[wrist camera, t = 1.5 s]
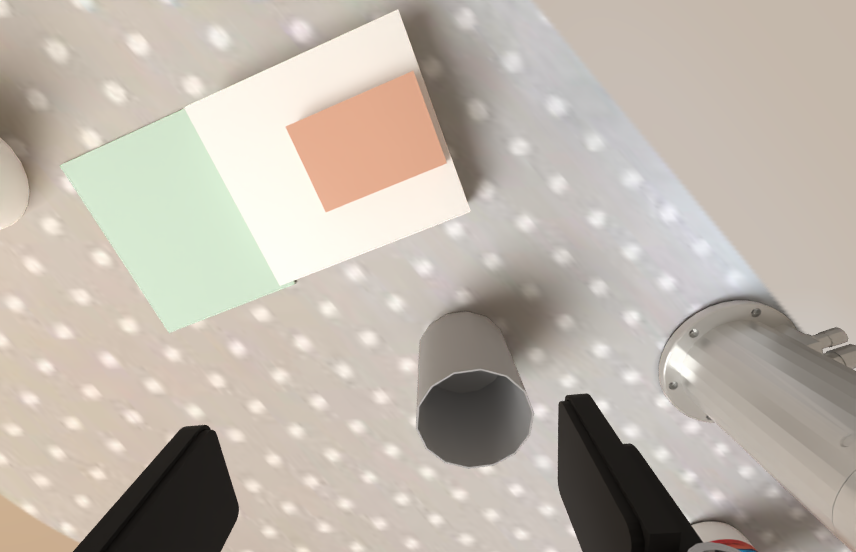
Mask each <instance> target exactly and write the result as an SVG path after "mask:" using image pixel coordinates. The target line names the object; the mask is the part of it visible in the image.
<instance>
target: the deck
mask: <svg viewBox="0 0 856 552" xmlns="http://www.w3.org/2000/svg"><path fill="white" fill-rule="evenodd" d="M411 71H414V74H415V76H416V79H417V82H418V85H419V87H420V90H421V93H422V96H423V99H424V101H425V104H426V107H427V110H428V112H429V115H430V118H431V121H432V123H433V126H434V129H435V132H436V134H437V137H438V140H439V143H440V145H441V148H442V151H443V154H444V156H445V159H446V162H447V163H446V164H444V165H442V166H439V167H437V168H434V169H432V170H429V171H427V172H424V173H422V174H419V175H417V176H414V177H412V178H409V179H407V180H405V181H402V182H400V183H397V184H395V185H392V186H390V187H387V188H385V189H382V190H380V191H377V192H375V193H373V194H370V195H368V196H365V197H363V198H360V199H358V200H355V201H353V202H350V203H348V204H345V205H343V206H340V207H338V208H336V209H333V210H331V211H328V212H325V210H324V208H323V206H322V203H321V201H320V199H319V197H318V195H317V193H316V191H315V189H314V186H313V184H312V182H311V180H310V178H309V176H308V174H307V172H306V169H305V167H304V165H303V163H302V161H301V159H300V157H299V155H298V153H297V150H296V148H295V146H294V144H293V142H292V140H291V138H290V136H289V133H288V131H287V129H286V126H288V125H290V124H292V123H295V122H297V121H299V120H302V119H304V118H306V117H308V116H311V115H313V114H315V113H318V112H320V111H322V110H324V109H327V108H329V107H331V106H334V105H336V104H338V103H340V102H343V101H345V100H347V99H350V98H352V97H354V96H356V95H359V94H361V93H363V92H366V91H368V90H370V89H372V88H375V87H377V86H379V85H382V84H384V83H386V82H388V81H391V80H393V79H395V78H398V77H400V76H402V75H405V74H407V73H409V72H411ZM184 109H185V110H186V112H187V114H188V116H189V118H190V120H191V122H192V123H193V125H194V127H195V129H196V131H197V133H198V135H199V136H200V138H201V140H202V142H203V144H204V146H205V148H206V150H207V151H208V153H209V155H210V157H211V159H212V161H213V163H214V164H215V166H216V168H217V170H218V172H219V174H220V176H221V177H222V179H223V181H224V183H225V185H226V187H227V189H228V190H229V192H230V194H231V196H232V198H233V200H234V202H235V203H236V205H237V207H238V209H239V211H240V213H241V215H242V217H243V218H244V220H245V222H246V224H247V226H248V228H249V230H250V231H251V233H252V235H253V237H254V239H255V241H256V243H257V244H258V246H259V248H260V250H261V252H262V254H263V256H264V257H265V259H266V261H267V263H268V265H269V267H270V269H271V270H272V272H273V274H274V276H275V278H276V280H277V282H278V284H279V285H280V286H281V285H284V284H286V283H289V282H291V281H294V280H297V279H299V278H302V277H304V276H307V275H309V274H312V273H315V272H317V271H320V270H322V269H325V268H327V267H330V266H333V265H335V264H338V263H340V262H343V261H345V260H348V259H351V258H353V257H356V256H358V255H361V254H363V253H366V252H369V251H371V250H374V249H376V248H379V247H381V246H384V245H387V244H389V243H392V242H394V241H397V240H399V239H402V238H405V237H407V236H410V235H412V234H415V233H417V232H420V231H423V230H425V229H428V228H430V227H433V226H435V225H438V224H441V223H443V222H446V221H448V220H451V219H453V218H456V217H459V216H461V215H464V214H466V213H469V212H471V211H470V208H469V205H468V203H467V200H466V197H465V194H464V191H463V189H462V186H461V183H460V180H459V177H458V175H457V172H456V169H455V166H454V163H453V161H452V158H451V155H450V152H449V150H448V147H447V144H446V141H445V138H444V136H443V133H442V130H441V127H440V124H439V122H438V119H437V116H436V113H435V110H434V108H433V105H432V102H431V99H430V96H429V94H428V91H427V88H426V85H425V83H424V80H423V77H422V74H421V71H420V69H419V66H418V63H417V60H416V57H415V55H414V52H413V49H412V46H411V43H410V41H409V38H408V35H407V32H406V30H405V27H404V24H403V21H402V18H401V16H400V13H399V10H395V11H393V12H391V13H389V14H387V15H385V16H382V17H380V18H378V19H376V20H374V21H371V22H369V23H367V24H365V25H363V26H360V27H358V28H356V29H354V30H352V31H350V32H347V33H345V34H343V35H341V36H339V37H336V38H334V39H332V40H330V41H328V42H325V43H323V44H321V45H319V46H317V47H315V48H312V49H310V50H308V51H306V52H304V53H301V54H299V55H297V56H295V57H293V58H290V59H288V60H286V61H284V62H282V63H280V64H277V65H275V66H273V67H271V68H269V69H266V70H264V71H262V72H260V73H258V74H255V75H253V76H251V77H249V78H247V79H245V80H242V81H240V82H238V83H236V84H234V85H231V86H229V87H227V88H225V89H223V90H220V91H218V92H216V93H214V94H212V95H210V96H207V97H205V98H203V99H201V100H199V101H196V102H194V103H192V104H190V105H188V106H185V107H184Z"/></svg>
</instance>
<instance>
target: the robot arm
mask: <svg viewBox="0 0 856 552" xmlns="http://www.w3.org/2000/svg"><path fill="white" fill-rule="evenodd" d="M847 341H848V337H847V334H846V333H845V332H844V331H843V330H842V329H840V328H832V329H829V330H826V331H823V332H820V333H818V334H816V335H813V336H811V335H808V334H804V333H802V332H800V331H798V330H797V329H796V327H795V326H794V324H793V322H792V321H791V320H790V319H789V318H788V317H787V316H786V315H784V314H783V313H781V312H779V311H778V310H776V309H774V308H772V307H769V306H767V305H765V304H762V303H759V302H754V301H749V300H735V301H729V302H723V303H719V304H716V305H713V306H710V307H708V308H706V309H704V310H702V311H700V312H698V313H696V314H695V315H693V316H692V317H691V318H689V319H688V320H687V321H685V322H684V323H683V324H682V325H681V326H680V327H679V328H678V329H677V330H676V331H675V332H674V334H673V335H672V336H671V338H670V339H669V341H668V342H667V344H666V346H665V348H664V350H663V352H662V355H661V359H660V363H659V381H660V386H661V388H662V390H663V392H664V395H665V396H666V397H667V399H668V400H669V401H670V402H671V403H672V404H673V405H674V406H675V407H676V408H677V409H678V410H679V411H680V412H682V413H683V414H685V415H686V416H688V417H690V418H693V419H696V420H698V421H703V422H709V423H716V424H717V425H718V426H719V427H720V428H721V429H723V430H724V431H725V432H726V433H727V434H728V435H729V436H730V437H731V438H732V439H733V440H734V441H735V442H736V443H737V444H738V445H739V446H741V447H742V448H743V449H744V450H745V451H746V452H747V453H748V454H749V455H750V456H751V457H752V458H753V459H754V460H755V461H756V462H757V463H759V464H760V465H761V466H762V467H763V468H764V469H765V470H766V471H767V472H768V473H769V474H770V475H771V476H772V477H773V478H774V479H775V480H777V481H778V482H779V483H780V484H781V485H782V486H783V487H784V488H785V489H786V490H787V491H788V492H789V493H790V494H791V495H792V496H793V497H795V498H796V499H797V500H798V501H799V502H800V503H801V504H802V505H803V506H804V507H805V508H806V509H807V510H808V511H809V512H810V513H811V514H813V515H814V516H815V517H816V518H817V519H818V520H819V521H820V522H821V523H822V524H823V525H824V526H825V527H826V528H827V529H828V530H829V531H831V532H832V533H833V534H834V535H835V536H836V537H837V538H838V539H839V540H840V541H841V542H842V543H844V544H845V545H846V546H847V547H848V548H849V549H850V550H851V551H852V552H856V371H855V370H853V369H854V368H856V345H852V344H849V345H846V346H842V347H839V348H836V349H833V350H830V351H827V352H826V353H824V354H823V350H822V349H823V348H826V347H832V346H835V345H839V344H842V343H845V342H847ZM558 486H559V491H560V495H561V498H562V500H563V503H564V505H565V508H566V510H567V513H568V515H569V518H570V521H571V523H572V526H573V528H574V531H575V533H576V536H577V539H578V541H579V544H580V546H581V549H582V551H583V552H741V551H740V550H738V549H736V548H733V547H730V546H727V545H724V544H721V543H713V542H704V543H703V541H702V540H701V538H700V537H699V536H698V534H697V533H696V531H695V530H694V529H693V527H692V526H691V524H690V523H689V521H688V520H687V519H686V517H685V516H684V514H683V513H682V512H681V510H680V509H679V507H678V506H677V504H676V503H675V502H674V500H673V499H672V497H671V496H670V495H669V493H668V492H667V490H666V489H665V487H664V486H663V485H662V483H661V482H660V480H659V479H658V478H657V476H656V475H655V473H654V472H653V470H652V469H651V468H650V466H649V465H648V463H647V462H646V461H645V459H644V458H643V456H642V455H641V454H640V452H639V451H638V449H637V448H636V447H635V446H634V445H632V444H622V442H621V441H620V439H619V438H618V436H617V435H616V433H615V432H614V430H613V429H612V427H611V426H610V424H609V423H608V421H607V420H606V418H605V417H604V415H603V414H602V412H601V411H600V409H599V408H598V406H597V405H596V403H595V402H594V400H593V399H592V397H591V396H590V395H589V394H576V395H567V396H566V397H565V401H560V402H559V413H558ZM238 513H239V506H238V502H237V499H236V495H235V492H234V489H233V486H232V482H231V479H230V476H229V473H228V469H227V466H226V463H225V460H224V457H223V453H222V450H221V447H220V444H219V440H218V437H217V434H216V432H215V431H214V430H211V429H210V427H209V426H207V425H198V426H186V427H183V428H182V429H180V430H179V431H178V433H177V434H176V435H175V436H174V437H173V438H172V439H171V440H170V442H169V443H168V444H167V445H166V446H165V447H164V448H163V450H162V451H161V452H160V453H159V454H158V455H157V456H156V458H155V459H154V460H153V461H152V462H151V463H150V464H149V466H148V467H147V468H146V469H145V470H144V471H143V472H142V474H141V475H140V476H139V477H138V478H137V479H136V480H135V482H134V483H133V484H132V485H131V486H130V487H129V488H128V489H127V491H126V492H125V493H124V494H123V495H122V496H121V497H120V499H119V500H118V501H117V502H116V503H115V504H114V505H113V507H112V508H111V509H110V510H109V511H108V512H107V513H106V515H105V516H104V517H103V518H102V519H101V520H100V521H99V523H98V524H97V525H96V526H95V527H94V528H93V529H92V531H91V532H90V533H89V534H88V535H87V536H86V537H85V539H84V540H83V541H82V542H81V543H80V544H79V545H78V547H77V548H76V549H75V550H74V551H73V552H221V550H222V548H223V546H224V544H225V542H226V540H227V538H228V536H229V534H230V532H231V530H232V528H233V526H234V524H235V522H236V520H237V517H238Z"/></svg>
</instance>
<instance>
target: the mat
mask: <svg viewBox="0 0 856 552" xmlns="http://www.w3.org/2000/svg"><path fill="white" fill-rule="evenodd" d="M60 167H61V169H62V170H63V172H64V173H65V175H66V176H67V178H68V179H69V181H70V182H71V184H72V185H73V187H74V188H75V190H76V191H77V193H78V195H79V196H80V198H81V199H82V201H83V202H84V204H85V205H86V207H87V208H88V210H89V211H90V213H91V214H92V216H93V217H94V219H95V221H96V222H97V224H98V225H99V227H100V228H101V230H102V231H103V233H104V234H105V236H106V237H107V239H108V240H109V242H110V243H111V245H112V247H113V248H114V250H115V251H116V253H117V254H118V256H119V257H120V259H121V260H122V262H123V263H124V265H125V266H126V268H127V269H128V271H129V273H130V274H131V276H132V277H133V279H134V280H135V282H136V283H137V285H138V286H139V288H140V289H141V291H142V292H143V294H144V295H145V297H146V299H147V300H148V302H149V303H150V305H151V306H152V308H153V309H154V311H155V312H156V314H157V315H158V317H159V318H160V320H161V321H162V323H163V325H164V326H165V328H166V329H167V331H168V332H169V333H170V332H173V331H175V330H178V329H180V328H183V327H186V326H188V325H191V324H193V323H196V322H198V321H201V320H204V319H206V318H209V317H211V316H214V315H217V314H219V313H222V312H224V311H227V310H229V309H232V308H235V307H237V306H240V305H242V304H245V303H248V302H250V301H253V300H255V299H258V298H260V297H263V296H266V295H268V294H271V293H273V292H276V291H278V290H281V289H284V288H286V287H289V286H291V285H294V284H296V282H295V280H294V281H291V282H289V283H286V284H284V285H281V286H280V285H279V284H278V282H277V280H276V278H275V276H274V274H273V272H272V270H271V269H270V267H269V265H268V263H267V261H266V259H265V257H264V256H263V254H262V252H261V250H260V248H259V246H258V244H257V243H256V241H255V239H254V237H253V235H252V233H251V231H250V230H249V228H248V226H247V224H246V222H245V220H244V218H243V217H242V215H241V213H240V211H239V209H238V207H237V205H236V203H235V202H234V200H233V198H232V196H231V194H230V192H229V190H228V189H227V187H226V185H225V183H224V181H223V179H222V177H221V176H220V174H219V172H218V170H217V168H216V166H215V164H214V163H213V161H212V159H211V157H210V155H209V153H208V151H207V150H206V148H205V146H204V144H203V142H202V140H201V138H200V136H199V135H198V133H197V131H196V129H195V127H194V125H193V123H192V122H191V120H190V118H189V116H188V114H187V112H186V110H185V109H182V110H180V111H178V112H176V113H173V114H171V115H169V116H167V117H165V118H163V119H160V120H158V121H156V122H154V123H152V124H149V125H147V126H145V127H143V128H141V129H138V130H136V131H134V132H132V133H130V134H128V135H125V136H123V137H121V138H119V139H117V140H114V141H112V142H110V143H108V144H106V145H103V146H101V147H99V148H97V149H95V150H92V151H90V152H88V153H86V154H84V155H82V156H79V157H77V158H75V159H73V160H71V161H68V162H66V163H64V164H62V165H60Z"/></svg>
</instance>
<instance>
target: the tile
mask: <svg viewBox="0 0 856 552" xmlns="http://www.w3.org/2000/svg"><path fill="white" fill-rule="evenodd" d="M286 129H287V131H288V133H289V136H290V138H291V140H292V142H293V144H294V146H295V148H296V150H297V153H298V155H299V157H300V159H301V161H302V163H303V165H304V167H305V169H306V172H307V174H308V176H309V178H310V180H311V182H312V184H313V186H314V189H315V191H316V193H317V195H318V197H319V199H320V201H321V203H322V206H323V208H324V210H325V212H328V211H331V210H333V209H336V208H338V207H340V206H343V205H345V204H348V203H350V202H353V201H355V200H358V199H360V198H363V197H365V196H368V195H370V194H373V193H375V192H377V191H380V190H382V189H385V188H387V187H390V186H392V185H395V184H397V183H400V182H402V181H405V180H407V179H409V178H412V177H414V176H417V175H419V174H422V173H424V172H427V171H429V170H432V169H434V168H437V167H439V166H442V165H444V164H446V163H447V162H446V159H445V156H444V154H443V151H442V148H441V145H440V143H439V140H438V137H437V134H436V132H435V129H434V126H433V123H432V121H431V118H430V115H429V112H428V110H427V107H426V104H425V101H424V99H423V96H422V93H421V90H420V87H419V85H418V82H417V79H416V76H415V74H414V71H411V72H409V73H407V74H405V75H402V76H400V77H398V78H395V79H393V80H391V81H388V82H386V83H384V84H382V85H379V86H377V87H375V88H372V89H370V90H368V91H366V92H363V93H361V94H359V95H356V96H354V97H352V98H350V99H347V100H345V101H343V102H340V103H338V104H336V105H334V106H331V107H329V108H327V109H324V110H322V111H320V112H318V113H315V114H313V115H311V116H308V117H306V118H304V119H302V120H299V121H297V122H295V123H292V124H290V125H288V126H286Z"/></svg>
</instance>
